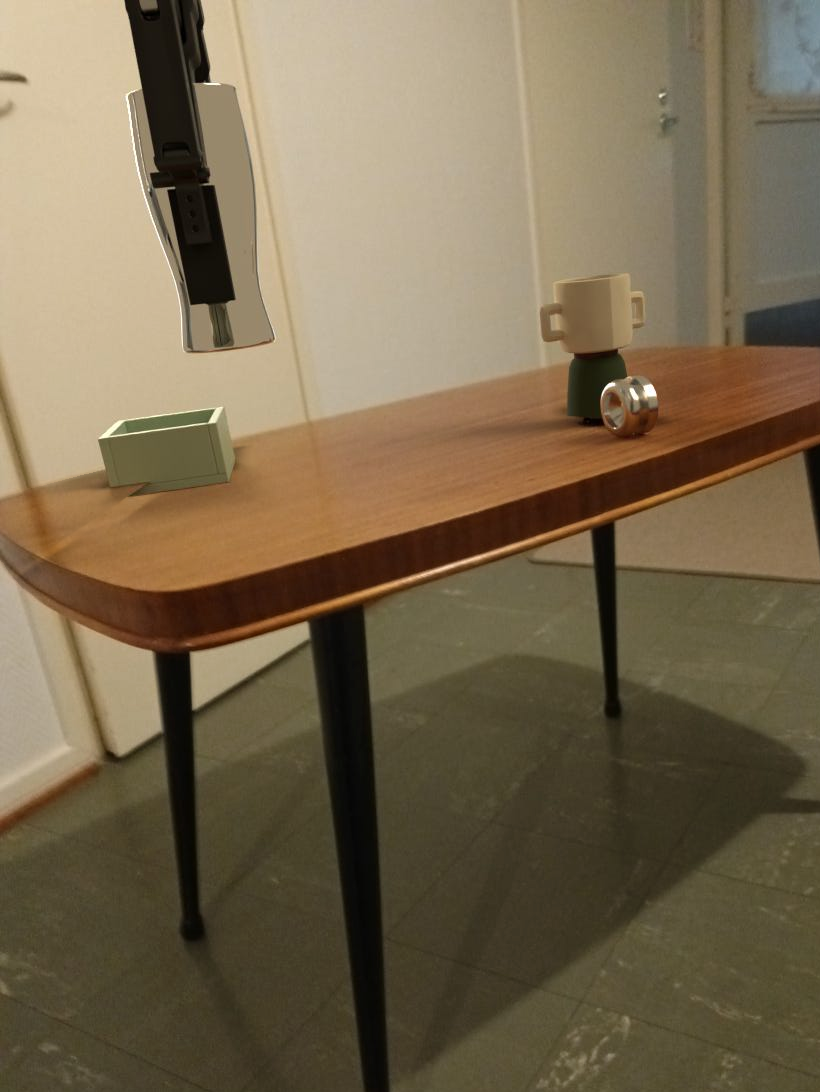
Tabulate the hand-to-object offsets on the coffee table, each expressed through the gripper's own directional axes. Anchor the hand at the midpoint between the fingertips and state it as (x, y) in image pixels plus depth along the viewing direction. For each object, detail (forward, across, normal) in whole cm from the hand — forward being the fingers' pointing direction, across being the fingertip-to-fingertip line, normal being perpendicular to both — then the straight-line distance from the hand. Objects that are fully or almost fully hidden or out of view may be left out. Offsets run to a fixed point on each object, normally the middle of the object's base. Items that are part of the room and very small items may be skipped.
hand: (220, 298), depth 64 cm
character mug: (+16, +25, -30) cm, 42 cm away
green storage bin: (+16, +24, +10) cm, 30 cm away
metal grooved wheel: (+16, +16, -31) cm, 38 cm away
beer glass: (+3, 0, 0) cm, 3 cm away
